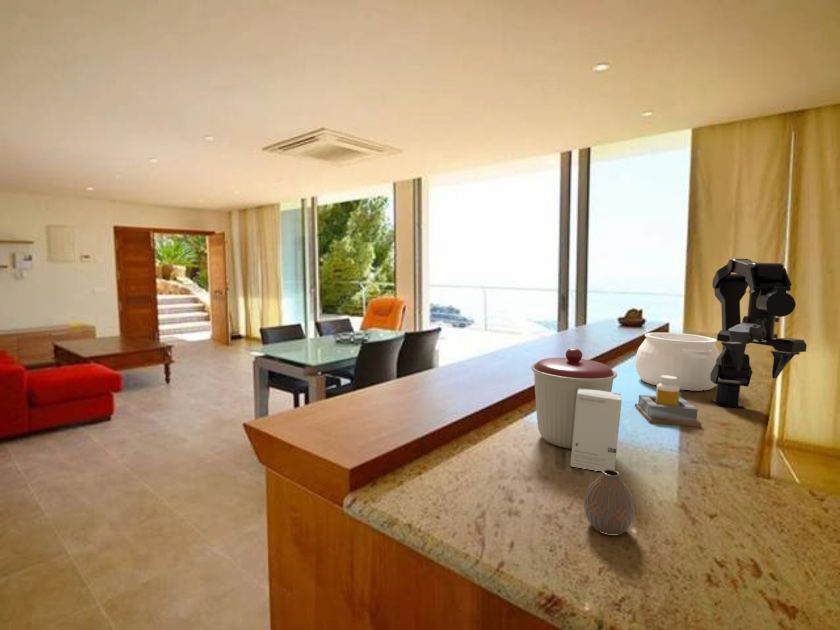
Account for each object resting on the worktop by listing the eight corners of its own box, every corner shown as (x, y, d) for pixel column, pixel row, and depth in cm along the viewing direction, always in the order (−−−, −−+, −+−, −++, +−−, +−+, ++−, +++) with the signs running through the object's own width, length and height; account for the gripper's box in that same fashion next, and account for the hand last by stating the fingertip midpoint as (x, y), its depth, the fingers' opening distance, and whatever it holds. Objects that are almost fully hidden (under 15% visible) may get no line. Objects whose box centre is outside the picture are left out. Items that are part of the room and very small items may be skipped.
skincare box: (570, 468, 91) (574, 393, 89) (572, 456, 96) (576, 386, 95) (616, 476, 88) (622, 399, 86) (616, 464, 93) (621, 391, 92)
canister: (512, 440, 105) (516, 347, 103) (551, 422, 118) (555, 339, 116) (591, 465, 93) (598, 360, 90) (624, 441, 106) (631, 349, 104)
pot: (742, 395, 148) (746, 344, 146) (657, 393, 148) (661, 342, 146) (691, 375, 176) (694, 331, 174) (620, 373, 176) (623, 330, 175)
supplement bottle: (680, 416, 122) (683, 379, 121) (658, 414, 123) (660, 378, 122) (673, 410, 127) (676, 375, 126) (652, 408, 128) (654, 373, 127)
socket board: (634, 406, 133) (635, 393, 132) (680, 410, 131) (681, 396, 130) (649, 422, 119) (650, 407, 119) (700, 426, 117) (702, 411, 116)
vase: (575, 516, 73) (578, 462, 72) (617, 515, 74) (621, 462, 73) (595, 542, 66) (599, 483, 65) (642, 541, 67) (646, 482, 66)
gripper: (704, 309, 123) (699, 368, 125) (778, 317, 106) (771, 385, 107) (734, 309, 127) (729, 365, 129) (811, 316, 110) (804, 382, 111)
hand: (755, 374), depth 119 cm, fingers open, 9 cm apart
